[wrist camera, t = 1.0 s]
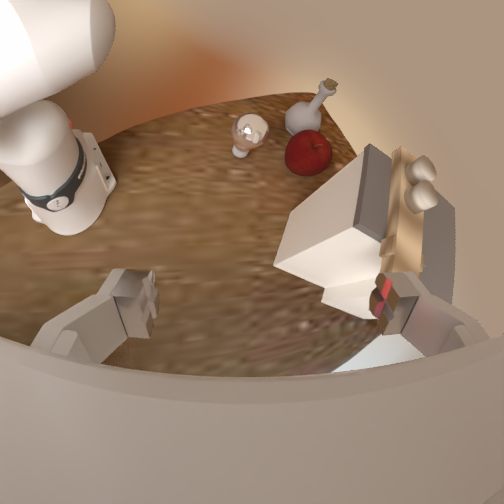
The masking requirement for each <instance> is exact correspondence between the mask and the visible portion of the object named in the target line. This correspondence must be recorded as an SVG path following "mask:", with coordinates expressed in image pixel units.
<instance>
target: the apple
mask: <svg viewBox="0 0 504 504" xmlns="http://www.w3.org/2000/svg"><path fill="white" fill-rule="evenodd" d="M331 159H332V149H331V146H330V144H329V142H328V141H327V139H326V138H325V137H324V136H323V135H322V134H320V133H319V132H317V131H315V130H310V129H307V130H303V131H300V132H298V133H297V134H295V135H294V136H293V137H292V138H291V139H290V141H289V143H288V145H287V147H286V152H285V161H286V165H287V167H288V168H289V169H290V170H291V171H292V172H293V173H295V174H298V175H301V176H312V175H316V174H318V173H320V172H322V171H323V170H325V169H326V168H327V167H328V165H329V164H330V162H331Z"/></svg>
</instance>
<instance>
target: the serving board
mask: <svg viewBox="0 0 504 504" xmlns="http://www.w3.org/2000/svg"><path fill="white" fill-rule="evenodd" d="M435 178H436V170H435V167H434V165H433V163H432V162H431V161H430V159H429V158H427V157H426V156H421V157H419V158H418V159H416V158H415V157H414V156H413V155H411V154H410V153H409V152H408V151H406V150H405V149H404V148H403V147H402V146H401V147H399V148H398V149H396V150H395V151H394V152H392V165H391V184H390V197H389V209H388V218H387V227H386V235H385V239H382V240H381V247H380V253H379V257H381V258H382V262H381V268H380V273H394V272H408V271H411V272H413V273H414V274H415V275H416V276H417V277H418V279H419V273H420V272H422V270H423V259H424V255H422V254H421V253H422V239H423V217H424V211H425V210H427V209H429V208H432V207H434V206H436V205H437V203H438V196H437V193H436V190H435V188H434V186H433V185H432V184H431V183H430V181H432V180H433V179H435ZM368 310H369V311H370V307H369V309H368Z"/></svg>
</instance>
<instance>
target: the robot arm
mask: <svg viewBox="0 0 504 504" xmlns="http://www.w3.org/2000/svg"><path fill="white" fill-rule="evenodd" d="M115 26H116V25H115V17H114V13H113V10H112V8H111V6H110V5H109V3H108V2H107V1H106V0H0V169H1V170H2V171H3V172H5V173H6V174H7V175H8V176H9V177H10V178H11V179H12V180H13V181H14V182H15V183H16V184H17V185H18V186H19V189H20V191H21V192H22V194H23V196H24V197H25V202H26V204H27V205H28V206H29V207H30V209H31V210H32V217H33V219H34V220H35V221H37V222H39V223H44V224H46V225H47V226H48V227H49V228H50V229H51V230H52V231H54V232H55V233H58V234H61V235H73V234H77V233H80V232H82V231H84V230H85V229H87V228H88V227H89V226H91V225H92V224H93V223H94V222H95V221H96V219H97V218H98V217H99V215H100V214H101V212H102V210H103V207H104V205H105V202H106V199H107V197H108V195H109V194H110V193H111V192H112V191H113V189H114V188H115V186H116V180H115V178H114V176H113V174H112V172H111V170H110V168H109V166H108V164H107V162H106V160H105V158H104V156H103V154H102V152H101V150H100V148H99V146H98V144H97V142H96V139H95V137H94V135H93V134H92V133H87V132H83V133H82V131H81V130H78V129H72V123H71V120H68V118H67V116H66V114H65V112H64V111H63V110H62V109H61V108H60V107H59V106H58V105H56V104H55V103H53V102H50V101H47V100H41V99H44V98H46V97H48V96H51V95H53V94H56V93H58V92H60V91H62V90H63V89H65V88H67V87H69V86H70V85H72V84H74V83H76V82H78V81H80V80H81V79H83V78H85V77H87V76H89V75H91V74H93V73H94V72H96V71H97V70H98V69H99V68H100V66H101V65H102V64H103V62H104V61H105V59H106V57H107V56H108V54H109V52H110V49H111V47H112V44H113V41H114V36H115ZM108 177H109V179H108V180H106V178H108ZM155 282H156V278H155V274H154V272H153V271H152V270H138V269H119V268H115V269H113V270H112V271H111V273H110V274H109V276H108V277H107V279H106V280H105V282H104V283H103V285H102V287H101V288H100V290H99V291H98V293H97V295H91V296H89V297H88V298H86V299H84V300H83V301H81V302H79V303H78V304H76V305H74V306H73V307H71V308H69V309H68V310H66V311H64V312H63V313H61V314H59V315H58V316H56V317H54V318H53V319H51V320H49V321H48V322H46V323H45V324H44V325H43V326H42V328H41V329H40V331H39V332H38V334H37V336H36V337H35V339H34V341H33V342H32V344H31V346H27V345H24V344H21V343H18V342H15V341H12V340H9V339H6V338H3V337H1V336H0V504H504V333H503V334H500V335H498V336H495V337H492V338H490V337H489V336H488V334H487V333H486V331H485V330H484V329H483V327H482V326H481V324H480V323H479V322H478V320H476V319H475V318H473V317H471V316H469V315H468V314H466V313H465V312H463V311H461V310H460V309H458V308H456V307H454V306H453V305H451V304H449V303H448V302H446V301H444V300H442V299H441V298H439V297H437V296H435V295H431V294H430V292H429V291H428V290H427V288H426V287H425V286H424V285H423V283H422V282H421V281H420V280H419V279H418V277H417V276H416V275H415V274H414V273H413V272H411V271H408V272H394V273H379V274H378V275H377V277H376V280H375V284H376V288H375V289H374V290H373V291H372V292H371V295H370V298H369V307H370V311H371V313H372V315H373V316H374V317H376V318H377V319H378V320H377V325H378V327H379V329H380V331H381V333H382V335H392V334H401V335H402V336H403V337H404V338H405V339H406V340H407V341H409V342H410V343H411V344H412V345H413V346H414V347H416V348H417V349H418V350H419V351H420V352H421V353H422V354H423V355H425V356H426V357H424V358H420V359H415V360H411V361H406V362H401V363H396V364H390V365H385V366H379V367H373V368H366V369H359V370H351V371H344V372H334V373H325V374H313V375H300V376H281V377H213V376H194V375H180V374H169V373H159V372H150V371H142V370H135V369H128V368H122V367H116V366H110V365H104V364H100V363H102V362H103V361H104V360H105V359H106V358H107V357H108V356H109V355H110V354H111V353H112V352H113V351H114V350H115V349H116V348H117V347H119V346H120V345H121V344H122V343H123V342H124V341H125V340H126V339H127V337H136V338H149V339H150V336H151V333H152V330H153V327H154V323H153V319H154V318H155V317H156V316H157V314H158V311H159V293H158V290H157V289H156V288H155V287H154V284H155Z"/></svg>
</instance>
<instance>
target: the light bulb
mask: <svg viewBox="0 0 504 504" xmlns="http://www.w3.org/2000/svg"><path fill="white" fill-rule="evenodd" d="M231 134H232V138H233V140H234V146H233V149H232V151H233V154H234V155H235V156H237V157H240V158H243V157H245V156H247V154H248V152H249V151H250V150H251V149H254V148H257V147H259V146H261V145H262V144H263V143H264V142H265V141H266V140H267V137H268V134H269V127H268V124H267V122H266V120H265V119H264V118H263V117H262V116H260V115H258V114H256V113H245V114H242V115H240V116H239V117H238V118H236V120H235V121H234V122H233V125H232V128H231Z"/></svg>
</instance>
